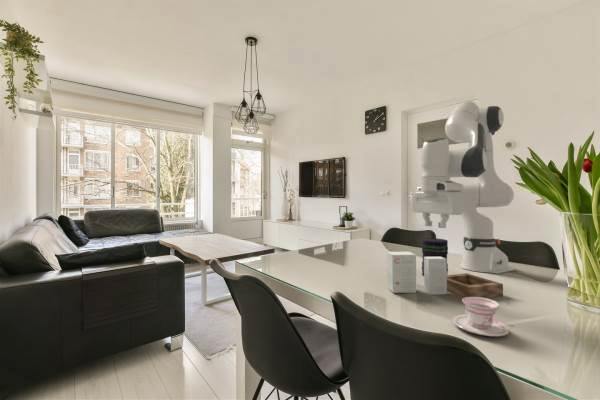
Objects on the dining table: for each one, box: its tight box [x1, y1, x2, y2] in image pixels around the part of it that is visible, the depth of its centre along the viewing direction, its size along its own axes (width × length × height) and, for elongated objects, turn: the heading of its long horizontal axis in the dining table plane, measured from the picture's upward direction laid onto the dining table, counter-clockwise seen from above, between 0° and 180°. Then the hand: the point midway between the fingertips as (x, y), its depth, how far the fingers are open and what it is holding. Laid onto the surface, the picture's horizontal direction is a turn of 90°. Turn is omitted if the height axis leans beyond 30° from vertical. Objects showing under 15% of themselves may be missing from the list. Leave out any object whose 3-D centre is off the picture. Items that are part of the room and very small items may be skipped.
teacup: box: [452, 297, 510, 337], centre depth 73 cm, size 12×12×6 cm
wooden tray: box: [447, 272, 504, 299], centre depth 99 cm, size 14×14×4 cm
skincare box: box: [423, 257, 448, 296], centre depth 98 cm, size 6×4×12 cm
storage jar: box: [421, 237, 449, 277], centre depth 120 cm, size 10×10×15 cm
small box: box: [387, 251, 417, 294], centre depth 101 cm, size 8×6×13 cm
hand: (435, 227), depth 98 cm, fingers open, 5 cm apart
